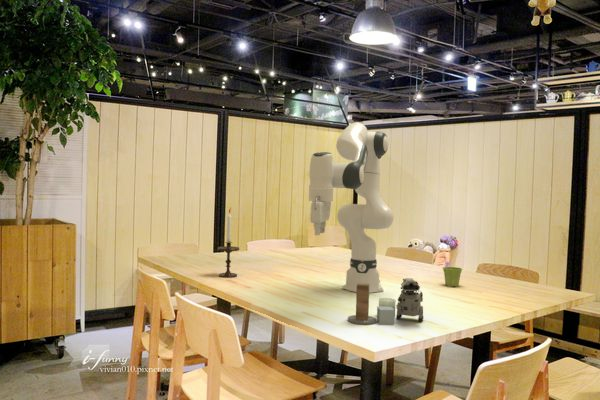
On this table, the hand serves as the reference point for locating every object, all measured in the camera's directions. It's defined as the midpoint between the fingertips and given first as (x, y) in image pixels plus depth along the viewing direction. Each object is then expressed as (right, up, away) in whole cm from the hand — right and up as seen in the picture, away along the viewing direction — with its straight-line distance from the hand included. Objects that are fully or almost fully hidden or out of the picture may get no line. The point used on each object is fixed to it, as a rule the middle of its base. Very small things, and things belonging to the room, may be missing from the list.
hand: (319, 234), depth 185 cm
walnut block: (+14, -29, -9) cm, 34 cm away
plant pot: (+67, -30, +62) cm, 96 cm away
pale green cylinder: (+24, -30, -1) cm, 39 cm away
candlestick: (-44, -26, +71) cm, 87 cm away
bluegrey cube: (+22, -30, -10) cm, 39 cm away
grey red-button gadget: (+31, -30, -7) cm, 44 cm away
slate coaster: (+14, -30, -9) cm, 34 cm away
